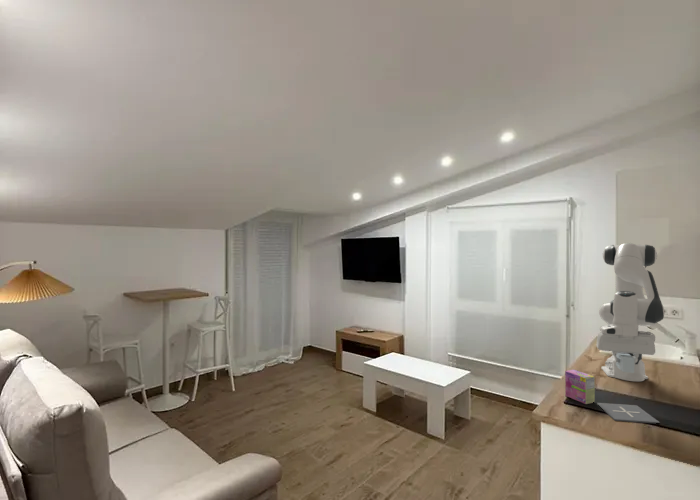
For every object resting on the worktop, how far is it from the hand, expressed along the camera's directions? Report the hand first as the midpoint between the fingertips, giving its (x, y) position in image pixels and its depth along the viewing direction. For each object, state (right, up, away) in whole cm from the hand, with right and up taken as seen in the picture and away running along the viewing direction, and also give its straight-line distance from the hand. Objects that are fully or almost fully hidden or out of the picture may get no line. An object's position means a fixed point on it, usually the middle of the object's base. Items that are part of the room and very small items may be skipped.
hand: (624, 362), depth 161 cm
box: (-12, -20, +13) cm, 27 cm away
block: (0, -3, 0) cm, 3 cm away
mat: (-1, -20, -2) cm, 20 cm away
